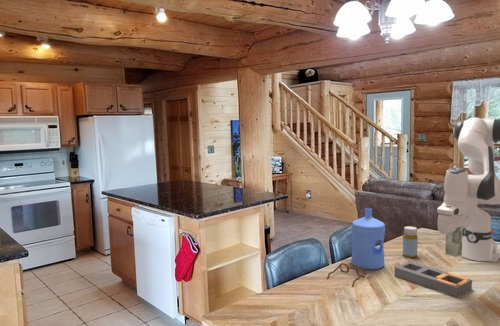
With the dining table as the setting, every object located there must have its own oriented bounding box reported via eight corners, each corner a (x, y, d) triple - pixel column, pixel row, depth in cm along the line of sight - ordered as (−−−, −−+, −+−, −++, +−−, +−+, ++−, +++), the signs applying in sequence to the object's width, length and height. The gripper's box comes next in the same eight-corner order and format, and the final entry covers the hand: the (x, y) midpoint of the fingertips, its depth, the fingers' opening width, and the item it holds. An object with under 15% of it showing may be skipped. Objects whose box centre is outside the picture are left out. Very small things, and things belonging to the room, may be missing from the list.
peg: (450, 252, 163) (451, 224, 162) (461, 254, 160) (462, 226, 159) (445, 254, 161) (446, 226, 160) (456, 257, 157) (457, 228, 156)
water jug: (349, 267, 187) (350, 211, 184) (353, 257, 202) (354, 204, 199) (383, 272, 181) (384, 213, 178) (385, 260, 196) (386, 206, 193)
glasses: (366, 279, 175) (366, 268, 174) (352, 288, 165) (352, 277, 165) (340, 271, 184) (340, 261, 183) (325, 280, 174) (325, 269, 174)
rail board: (410, 269, 184) (410, 260, 184) (471, 289, 162) (472, 279, 161) (394, 275, 177) (394, 266, 176) (456, 297, 154) (457, 287, 154)
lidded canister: (418, 258, 198) (419, 229, 197) (403, 257, 200) (404, 229, 198) (415, 253, 205) (416, 226, 203) (401, 253, 206) (402, 225, 205)
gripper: (459, 202, 167) (458, 234, 168) (434, 209, 155) (433, 243, 156) (475, 205, 162) (473, 237, 163) (450, 212, 150) (449, 246, 151)
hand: (454, 240), depth 160 cm, fingers closed on peg, 4 cm apart
